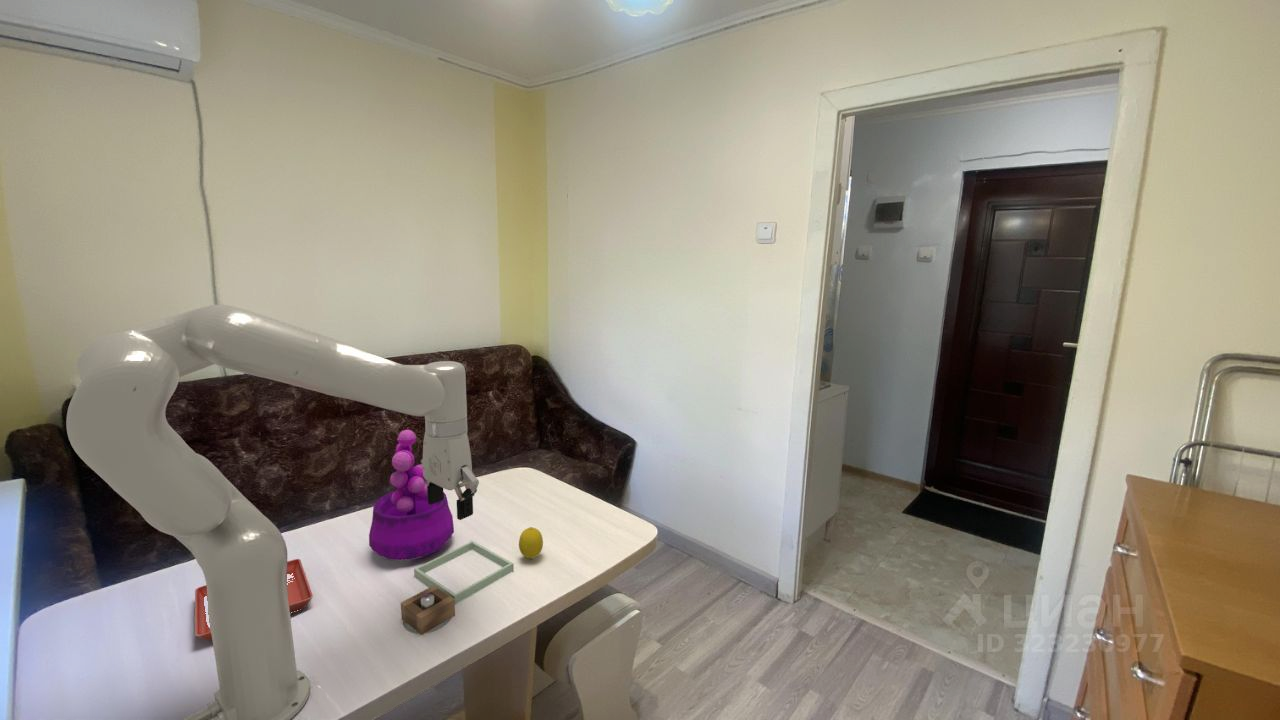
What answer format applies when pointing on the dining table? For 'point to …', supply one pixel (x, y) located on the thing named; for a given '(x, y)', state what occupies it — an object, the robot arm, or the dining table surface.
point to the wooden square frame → (427, 610)
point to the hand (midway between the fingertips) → (450, 509)
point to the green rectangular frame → (472, 545)
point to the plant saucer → (296, 592)
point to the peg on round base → (425, 604)
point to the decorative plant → (409, 511)
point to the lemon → (530, 542)
